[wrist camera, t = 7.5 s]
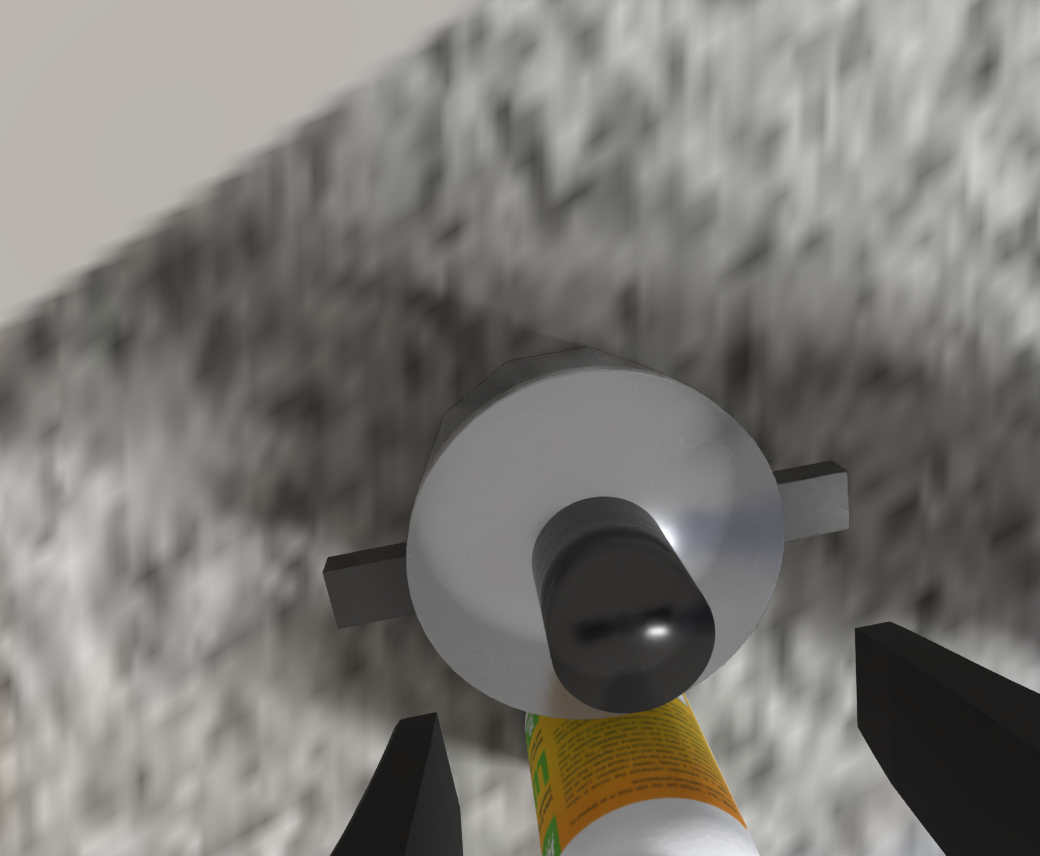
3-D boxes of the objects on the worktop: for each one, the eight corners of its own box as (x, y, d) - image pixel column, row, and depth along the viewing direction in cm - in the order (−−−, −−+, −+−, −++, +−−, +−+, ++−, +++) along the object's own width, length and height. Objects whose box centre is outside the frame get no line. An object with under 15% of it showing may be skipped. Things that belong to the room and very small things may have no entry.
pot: (776, 311, 20) (850, 336, 17) (791, 577, 23) (858, 650, 19) (314, 396, 20) (281, 442, 16) (383, 657, 23) (369, 749, 19)
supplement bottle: (499, 675, 23) (530, 986, 14) (658, 619, 23) (793, 894, 14) (553, 798, 25) (611, 1149, 16) (700, 746, 25) (847, 1068, 16)
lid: (762, 334, 16) (857, 375, 13) (781, 665, 19) (864, 782, 15) (370, 403, 16) (344, 468, 12) (446, 730, 19) (445, 867, 15)
